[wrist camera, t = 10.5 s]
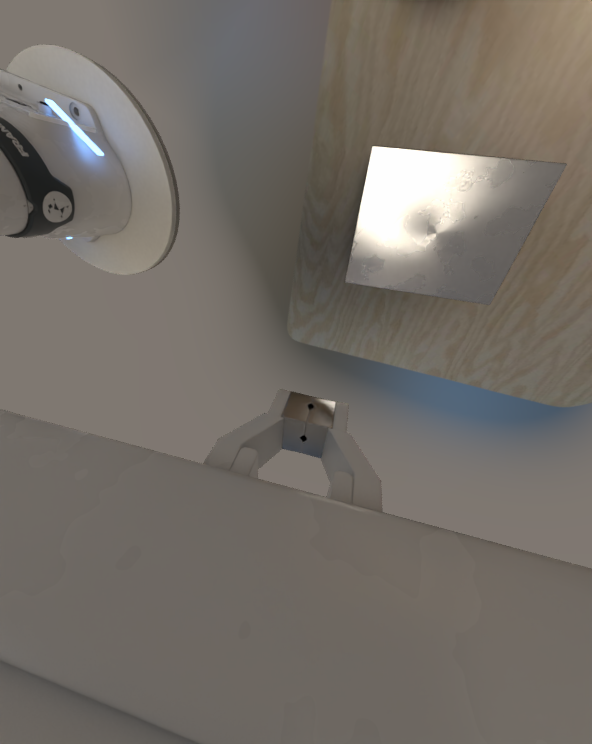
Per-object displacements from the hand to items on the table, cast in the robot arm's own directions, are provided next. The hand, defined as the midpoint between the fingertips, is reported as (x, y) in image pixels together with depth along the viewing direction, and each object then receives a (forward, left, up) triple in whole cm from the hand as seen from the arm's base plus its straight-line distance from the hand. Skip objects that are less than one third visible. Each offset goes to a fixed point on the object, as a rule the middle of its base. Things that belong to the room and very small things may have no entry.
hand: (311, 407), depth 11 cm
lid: (+6, +8, -25) cm, 27 cm away
